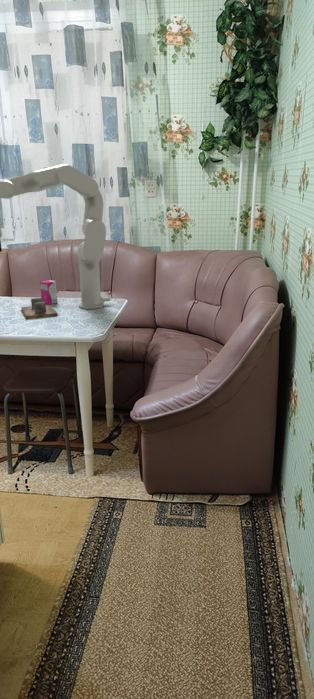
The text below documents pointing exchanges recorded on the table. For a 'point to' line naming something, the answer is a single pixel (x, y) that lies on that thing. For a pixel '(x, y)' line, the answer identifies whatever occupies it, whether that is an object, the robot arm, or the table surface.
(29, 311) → the hinge board
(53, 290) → the supplement box
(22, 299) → the table surface
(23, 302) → the table surface
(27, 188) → the robot arm
